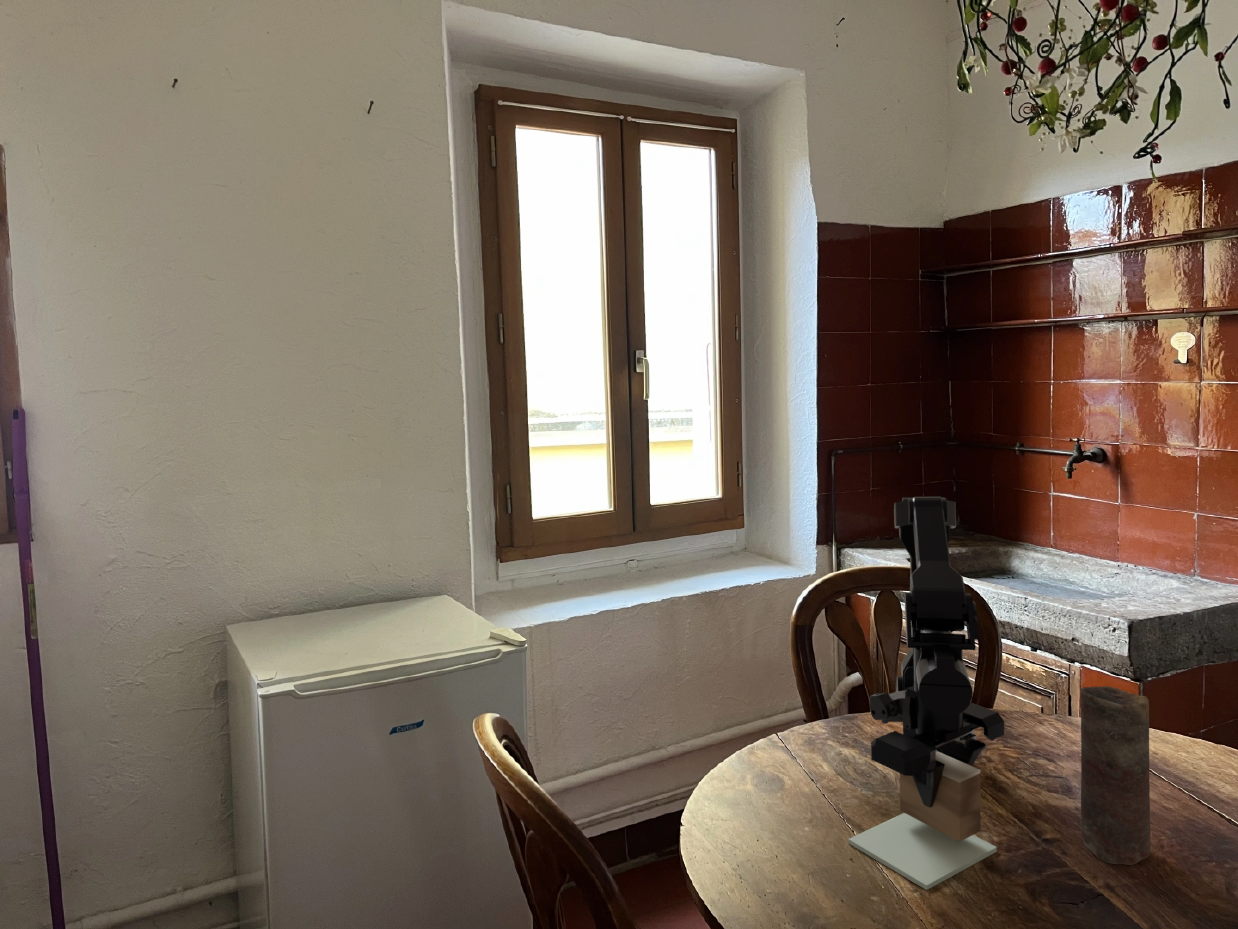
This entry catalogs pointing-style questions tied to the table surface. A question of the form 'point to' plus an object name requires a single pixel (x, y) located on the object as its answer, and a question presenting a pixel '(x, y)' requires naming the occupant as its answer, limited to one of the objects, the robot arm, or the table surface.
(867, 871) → the table surface
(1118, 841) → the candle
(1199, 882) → the table surface
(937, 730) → the robot arm
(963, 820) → the walnut slab
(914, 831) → the sage mat
